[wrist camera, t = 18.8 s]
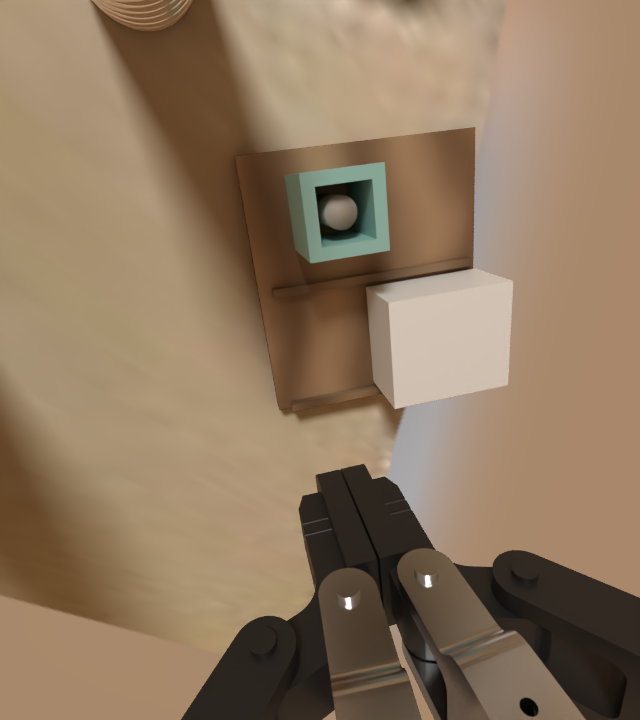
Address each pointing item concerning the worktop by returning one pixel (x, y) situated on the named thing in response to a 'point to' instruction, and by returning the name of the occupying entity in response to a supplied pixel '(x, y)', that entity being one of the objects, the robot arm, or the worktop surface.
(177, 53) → the worktop surface
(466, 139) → the board
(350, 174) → the sleeve
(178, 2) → the water bottle
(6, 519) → the worktop surface
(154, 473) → the worktop surface
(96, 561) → the worktop surface
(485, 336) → the white rectangular block
